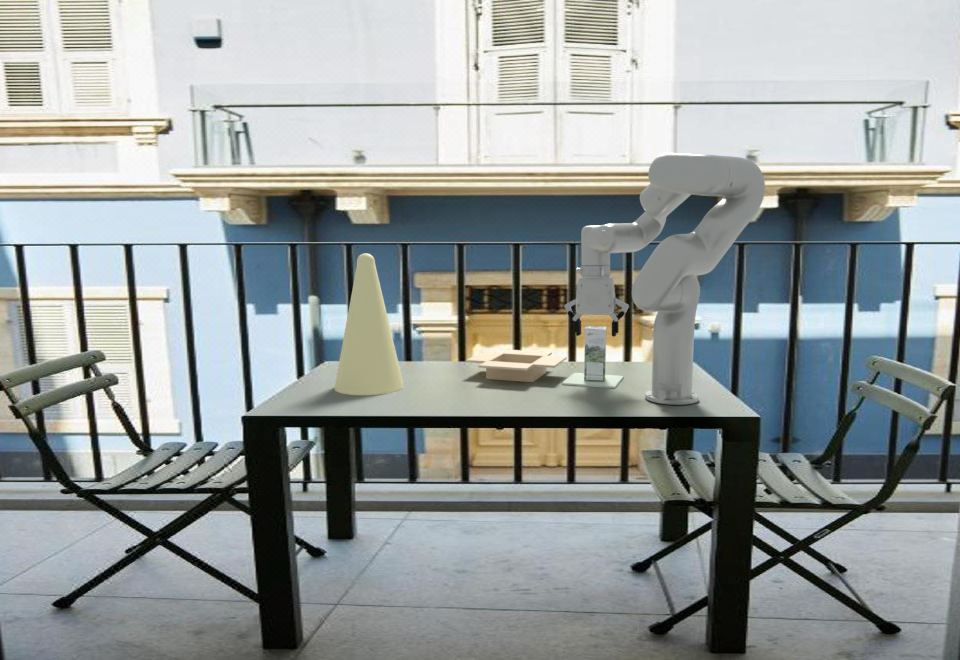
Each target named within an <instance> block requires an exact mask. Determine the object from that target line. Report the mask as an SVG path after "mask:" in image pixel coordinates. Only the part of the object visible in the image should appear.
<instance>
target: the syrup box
mask: <svg viewBox="0 0 960 660" xmlns="http://www.w3.org/2000/svg"><path fill="white" fill-rule="evenodd" d="M606 350H607V326H604V325H603V326H601V325H586V326H585V327H584V358H583V360H584V367H583V368H584V369H583V373H584V381H605V375H606V360H607V359H606V358H607V357H606V355H607V354H606V353H607V351H606Z"/></svg>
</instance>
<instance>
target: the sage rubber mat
mask: <svg viewBox="0 0 960 660" xmlns="http://www.w3.org/2000/svg"><path fill="white" fill-rule="evenodd" d="M623 379H624V375H617V374H616V375H615V374H605V381H584V372H573V373H572V374H571V375H569V377H567V378H566V379H565V380H564V381H563V382H562V386H563V385H565V386H574V387H576V386H577V387H588V388H589V387H590V388H602V389H603V388H605V389H616V388H617V386H618V385H619V384H620V383H621V382H622V380H623Z"/></svg>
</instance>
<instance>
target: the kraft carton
mask: <svg viewBox="0 0 960 660" xmlns="http://www.w3.org/2000/svg"><path fill="white" fill-rule="evenodd" d="M567 358H568V357H567V356H560V355H558V356H557V355H553V352H552V351H540V350H539V351H538V350H524V349H523V350H522V349H521V350H519V349H507V350H505V351H503V352H491V351H482V352H480V353H478V354H476V355H474V356H471V357H469V358H468V359H466V360H465V362H466V363H473V364H475V363H476V364H478V365H477V366H478V368H482V369H485V379H486V380H494V381H495V380H496V381H507V382H508V381H509V382H524V383H534V382H536V381H537V380H538V379H540V378H541V377H542V376H544V375H545V374H547V368H551V369H552V368H553V369H555V368H557V367H558V366H559V365H561V364H562V363H564V362H565V361H566V360H568V359H567Z"/></svg>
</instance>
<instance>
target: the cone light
mask: <svg viewBox="0 0 960 660" xmlns="http://www.w3.org/2000/svg"><path fill="white" fill-rule="evenodd" d="M354 274H355V275H354V279H353V285H352V291H351V295H350V301H349V306H348V311H347V312H348V313H347V318H346V324H345V329H344V334H343V339H342V345H341V350H340V355H339V362H338V367H337V372H336V378H335V383H334V387H333V389H334V391H335V392H336V393H339V394H343V395H350V396H378V395H379V396H380V395H385V394H391V393H395V392H398V391H400V390H402V389H404V388H405V387H404V386H405V385H404V380H403V377H402V373H401V372H402V370H401V367H400V363H399V359H398V356H397V351H396V346H395V343H394V339H393V338H394V337H393V334H392V329H391V325H390V321H389V317H388V313H387V308H386V304H385V300H384V295H383V292H382V288H381V283H380V278H379V274H378V271H377V266H376V260H375V257H374V255H372V254H371V253H365V252H364V253H361V254H360V255H358V256H357V259H356V267H355V273H354Z"/></svg>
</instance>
